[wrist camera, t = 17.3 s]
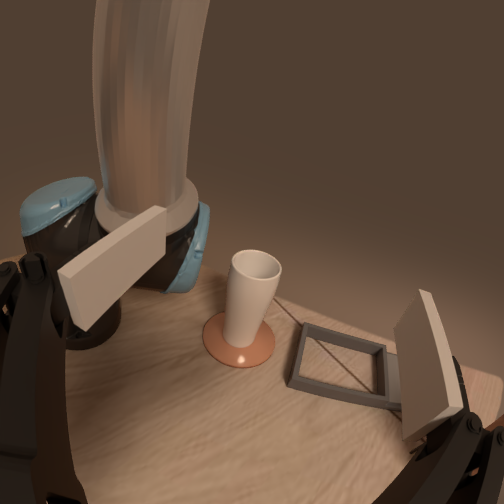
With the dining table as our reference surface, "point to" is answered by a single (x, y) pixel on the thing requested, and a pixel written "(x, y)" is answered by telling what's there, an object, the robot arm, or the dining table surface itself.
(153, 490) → the dining table surface
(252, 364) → the coaster
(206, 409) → the dining table surface
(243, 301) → the drinking glass
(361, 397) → the open case
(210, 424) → the dining table surface
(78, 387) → the dining table surface
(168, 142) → the robot arm
